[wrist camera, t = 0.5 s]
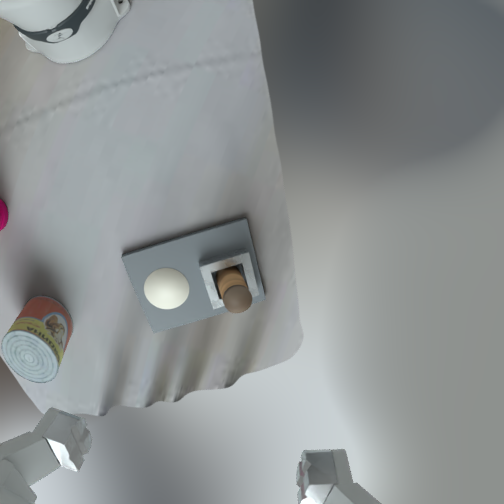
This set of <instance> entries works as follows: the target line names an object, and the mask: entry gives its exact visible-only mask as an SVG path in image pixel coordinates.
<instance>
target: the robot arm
mask: <svg viewBox="0 0 504 504" xmlns="http://www.w3.org/2000/svg"><path fill="white" fill-rule="evenodd" d="M120 1H123V2H122V3H121V4H119V2H120ZM130 8H131V5H130V3H129V1H128V0H0V17H1V18H3V19H5V20H7V21H9V22H11V23H13V25H14V26H15V28H16V29H17V30H18V31H19V35H20V37H22V38H23V39H24V40H25V41H26V48H27V49H28V50H29V51H31V52H38V53H41V54H43V55H44V56H45V57H47V58H48V59H50V60H51V61H54V62H57V63H72V62H77V61H80V60H82V59H85V58H87V57H89V56H90V55H92V54H93V53H95V52H96V51H97V50H99V49H100V48H101V47H102V46H103V45H104V44H105V43H106V42H107V40H108V39H109V38H110V36H111V35H112V33H113V31H114V29H115V27H116V25H117V23H118V21H119V20H120V19H121V18H122V17H124V16H125V15H126V14H127V13H128V11H129V10H130ZM86 425H87V423H86V421H85V419H84V418H81V417H78V416H75V415H72V414H69V413H67V412H64V411H61V410H58V409H55V408H53V407H52V408H50V409H48V411H47V412H46V413H45V415H44V417H43V418H42V419H41V420H40V422H39V423H38V425H37V426H36V428H35V429H34V431H33V432H27V433H25V434H22V435H20V436H18V437H15V438H13V439H10V440H8V441H6V442H3V443H1V444H0V504H35V503H34V502H35V500H36V498H37V496H36V494H35V493H34V492H33V490H32V489H31V488H30V486H31V485H33V484H34V483H36V482H37V481H39V480H41V479H42V478H44V477H46V476H47V475H48V474H50V473H52V472H53V471H55V470H56V469H58V468H59V467H60V466H63V467H65V468H68V469H71V470H74V471H77V472H79V470H80V468H81V466H82V464H83V462H84V458H83V455H84V454H86V453H88V452H89V450H90V448H91V443H92V437H91V434H90V431H89V430H88V429H87V428H86ZM296 476H297V477H296V479H297V485H298V486H299V487H300V489H299V491H298V504H381V503H380V502H379V501H378V500H376V499H375V498H374V497H373V496H372V495H371V494H369V493H368V492H367V491H366V490H365V489H363V488H362V487H361V486H360V485H359V484H358V483H353V480H352V475H351V471H350V467H349V462H348V458H347V454H346V451H345V450H344V449H337V450H330V449H329V450H304V451H303V452H302V455H301V462H299V464H298V467H297V474H296Z"/></svg>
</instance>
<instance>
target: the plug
mask: <svg viewBox="0 0 504 504" xmlns="http://www.w3.org/2000/svg"><path fill="white" fill-rule="evenodd" d="M216 281H217V284H218V287H219V290H220V293H221V297H222V300H223V303H224V306H225V308H226V309H227V310H228V311H230V312H232V313H241V312H244V311H246V310H247V309H248V308H249V307H250V306H251V304H252V295H251V293H250V291H249V289H248V287H247V285H246V283H245V281H244V279H243V277H242V275H241V273H240V271H239V269H238V268H237V267H236V266H231V267H228V268H224V269H221V270H218V271H217V272H216Z"/></svg>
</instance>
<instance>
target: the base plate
mask: <svg viewBox="0 0 504 504" xmlns="http://www.w3.org/2000/svg"><path fill="white" fill-rule="evenodd" d="M245 247H246V249H247V250H248V252H249V255H250V259H251V263H252V267H253V271H254V276H255V280H256V284H257V288H258V292H259V295H258V296H255V297H252V304H253V303H257V302H260V301H263V300H266V298H265V294H264V290H263V286H262V281H261V277H260V273H259V269H258V265H257V260H256V256H255V252H254V248H253V244H252V239H251V235H250V231H249V227H248V223H247V219H246V218H241V219H238V220H234V221H231V222H227V223H224V224H221V225H217V226H214V227H210V228H207V229H204V230H200V231H197V232H194V233H190V234H187V235H184V236H180V237H177V238H174V239H171V240H167V241H164V242H161V243H158V244H154V245H151V246H148V247H145V248H142V249H139V250H135V251H132V252H129V253H126V254H123V255H122V257H121V258H122V261H123V263H124V266H125V268H126V271H127V273H128V276H129V278H130V280H131V283H132V285H133V288H134V290H135V292H136V295H137V297H138V299H139V302H140V304H141V306H142V309H143V311H144V313H145V315H146V317H147V320H148V322H149V324H150V326H151V328H152V331H153V333H157V332H160V331H164V330H167V329H171V328H174V327H178V326H181V325H185V324H188V323H192V322H195V321H198V320H202V319H205V318H208V317H212V316H215V315H218V314H221V313H225V312H228V310H227V309H226V308H225V306H223V307H220V308H217V309H213V307H212V304H211V301H210V298H209V295H208V292H207V289H206V286H205V283H204V279H203V276H202V273H201V270H200V267H199V261H202V260H206V259H209V258H212V257H215V256H219V255H222V254H225V253H229V252H232V251H235V250H239V249H242V248H245ZM234 266H236V267H237V268H238V269H239V271H240V273H241V275H242V277H243V279H244V281H245V278H244V274H243V270H242V266H241V264H237V265H234ZM216 272H217V271H214V272H211V274H212V278H213V281H214V284H215V287H216V290H217V293H220V290H219V287H218V284H217V281H216ZM245 283H246V281H245Z"/></svg>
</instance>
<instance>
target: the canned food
mask: <svg viewBox="0 0 504 504" xmlns="http://www.w3.org/2000/svg"><path fill="white" fill-rule="evenodd" d="M72 333H73V322H72V318H71V316H70V314H69V312H68V311H67V310H66V308H65V307H64V306H63V305H62V304H61V303H59V302H58V301H56V300H55V299H53V298H50V297H47V296H36V297H33V298H31V299H30V300H29V301H28V302H27V303H26V305H25V307H24V308H23V310H22V311H21V313H20V314H19V316H18V317H17V319H16V320H15V322H14V323H13V325H12V326H11V328H10V329H9V331H8V332H7V334H6V335H5V336H4V338H3V340H2V353H3V356H4V358H5V360H6V362H7V363H8V365H9V366H10V367H11V368H12V369H13V370H14V371H15V372H16V373H17V374H18V375H20V376H21V377H23V378H25V379H27V380H29V381H32V382H36V383H46V382H49V381H51V380H53V379H54V378H55V377H56V375H57V373H58V369H59V366H60V363H61V360H62V358H63V355H64V352H65V350H66V347H67V344H68V342H69V339H70V337H71V335H72Z"/></svg>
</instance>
